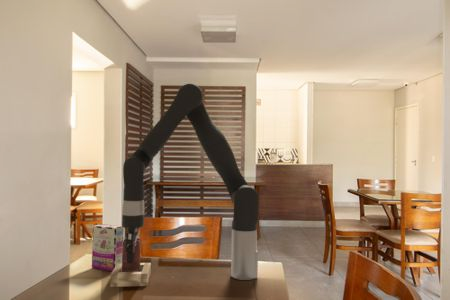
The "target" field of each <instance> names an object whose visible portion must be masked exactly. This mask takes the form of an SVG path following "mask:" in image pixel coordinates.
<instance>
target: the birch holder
mask: <svg viewBox="0 0 450 300" xmlns="http://www.w3.org/2000/svg"><path fill="white" fill-rule="evenodd" d="M151 263H152V262H140V272H122V263H117V265H116V267H115V268H114V270H113V271H112V272H110V281H109V287H110V288H113V287H114V288H115V287H117V288H118V287H121V288H122V287H148V285H149V280H150V278H151V274H152V273H151V272H152V271H151V270H152V267H151V266H152V264H151Z"/></svg>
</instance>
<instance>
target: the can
mask: <svg viewBox="0 0 450 300" xmlns="http://www.w3.org/2000/svg"><path fill="white" fill-rule="evenodd" d="M141 245H142V242H141V240H140V238H139V239H137V244H136V246H135V249H134V250H135V251H134V262H133V263H127V252H126V251H125V249H126V238H125V239H123V246H122V272H140V263H141ZM129 248H132V246H129Z"/></svg>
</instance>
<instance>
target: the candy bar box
mask: <svg viewBox="0 0 450 300" xmlns="http://www.w3.org/2000/svg"><path fill="white" fill-rule="evenodd" d="M123 241H124V227H122V225H115V224H103V223H101V224H100V223H99V224H96V225H93V226H92V246H91V247H92V249H91V250H92V253H91V254H92V256H91V269H95V270H100V271H106V272H110V273H112V271H113V270H114V268H115V267H116V265H117V263H122V246H123Z"/></svg>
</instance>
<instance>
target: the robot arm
mask: <svg viewBox="0 0 450 300" xmlns="http://www.w3.org/2000/svg"><path fill="white" fill-rule="evenodd" d="M185 118H187V120H188V121H189V123H190V124H191V126H192V128H193V130H194V132H195V134H196V136H197V139H198V141H199V143H200V145H201V148H202V149H203V151H204V153H205V155H206V157H207V158H208V160H209V162H210V163H211V165H212V166H213V168H214V170H215V171H216V172H217V174H218V175H219V176H220V178H221V180H222V181H223V183H224V185H225V188H226V190H227V192H228V195H229V198H230V200H231V202H232V204H233V219H232V221H231V259H230V260H231V263H230V265H231V267H230V268H231V269H230V276H231V278H233V279H236V280H240V281H250V280H254V279H258V273H259V272H258V271H259V270H258V267H259V264H258V263H259V259H258V258H259V256H258V255H259V252H258V250H257V243H258V242H257V241H258V239H257V235H258V223H259V217H260V216H259V215H260V196H259V193H258V191H257V190H256V189H255V188H254V187H252V186H250V185H249V184H248V183H247V182H248V181H247V180H246V179H245V177H244V176H243V175H242V173H241V171H240V169H239V167H238V163H237V159H236V157H235V154H234V152H233V149H232V147H231V146H230V144H229V142H228V140H227V138H226V136H225V135H224V134H223V132H222V131H221V129H220V128H219V126H217V125H216V123H215V122H214V121H213V120H212V118H211V117H210V116H209V113H208V111H207V109H206V107H205V105H204V103H203V91H202V90H201V88H200V87H199V86H198V85H197V84H194V83H185V84H184V85H183V84H182V86H181V87H180V88H179V89H178V90H177V94H176V96H175V97H174V99H173V101H172V103H171V104H170V106H169V107H168V109H167V110H166V112H165V113H164V114H163V115H162V116H161V118H160V119H159V120H158V121H157V122H156V124H155V125H154V126H152V128H151V130H149V132H148V133H147V134H146V135H145V137H143V139H142V141H141V142H140V144H139V146H138V148H137V149H135V152H133V153H132V155H131V156H129V157H127V158H126V159H125V160H124V163H123V168H122V173H123V178H122V179H123V196H122V197H123V200H122V207H121V209H122V210H121V211H122V212H121V226H122V227H123V229H124V228H125V229H128V231H127V232H126V233H125V236H126V237H125V239H126V249H125V251H126V252H127V263H133V262H134V251H135V250H134V249H135V246H136V244H137V239H140V228H142V227H144V226H145V186H144V174H145V173H144V171H145V170H146V169H147V168H148V167H149V165H150V163H151V162H152V160H153V159H154V158H155V157H156V156H157V154H158V153H160V151H161V150H162V149H163V148H164V146H165V145H166V143H168V140H170V138H171V137H172V135H173V133H174V132H175V130H176V129H177V128H178V127H179V125H180V123H182V121H183V120H184V119H185ZM129 246H132V248H129Z"/></svg>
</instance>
